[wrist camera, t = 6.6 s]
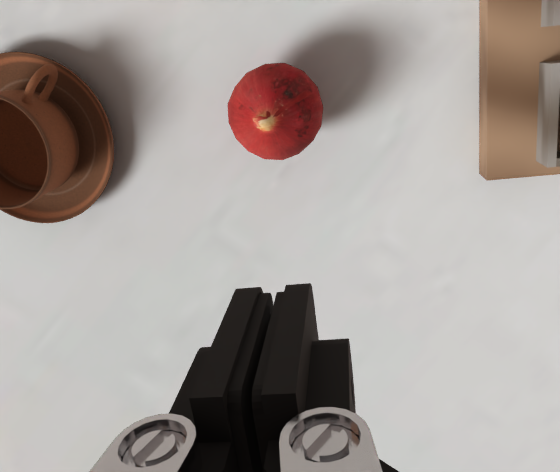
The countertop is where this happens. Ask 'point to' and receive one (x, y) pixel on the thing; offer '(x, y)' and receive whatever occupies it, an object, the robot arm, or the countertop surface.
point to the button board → (519, 88)
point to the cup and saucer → (50, 140)
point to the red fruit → (275, 111)
